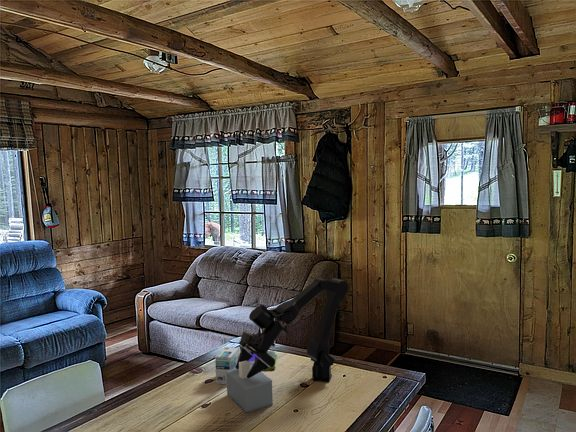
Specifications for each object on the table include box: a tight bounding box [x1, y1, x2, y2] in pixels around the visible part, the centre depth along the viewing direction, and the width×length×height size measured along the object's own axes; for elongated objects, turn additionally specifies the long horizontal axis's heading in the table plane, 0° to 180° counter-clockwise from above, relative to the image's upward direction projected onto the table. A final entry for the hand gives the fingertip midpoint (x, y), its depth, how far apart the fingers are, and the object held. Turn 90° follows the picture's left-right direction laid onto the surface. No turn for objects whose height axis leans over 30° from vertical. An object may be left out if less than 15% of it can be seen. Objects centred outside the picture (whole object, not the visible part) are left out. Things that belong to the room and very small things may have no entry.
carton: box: [226, 374, 274, 414], centre depth 160 cm, size 10×16×8 cm, turn 31°
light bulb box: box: [214, 346, 240, 385], centre depth 179 cm, size 11×7×11 cm, turn 168°
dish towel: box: [248, 350, 278, 371], centre depth 194 cm, size 18×24×3 cm
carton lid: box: [226, 361, 273, 390], centre depth 160 cm, size 10×16×6 cm, turn 31°
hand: (241, 372), depth 159 cm, fingers open, 9 cm apart
